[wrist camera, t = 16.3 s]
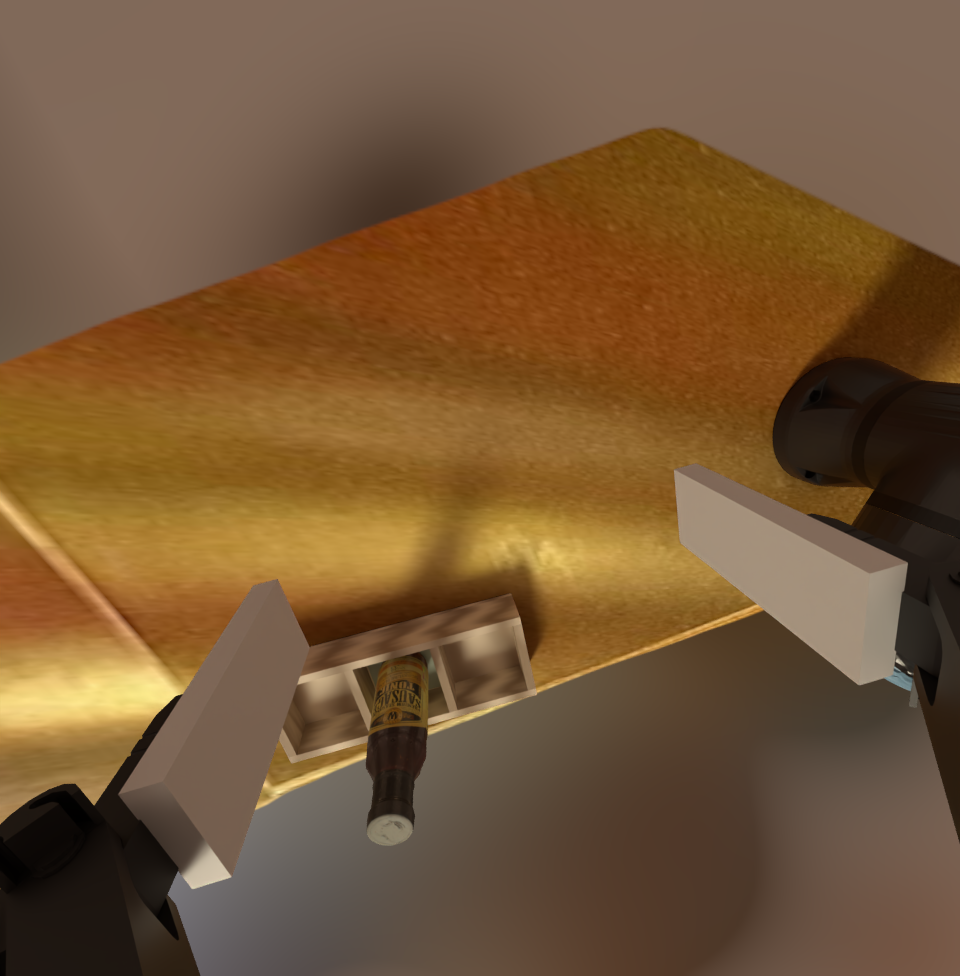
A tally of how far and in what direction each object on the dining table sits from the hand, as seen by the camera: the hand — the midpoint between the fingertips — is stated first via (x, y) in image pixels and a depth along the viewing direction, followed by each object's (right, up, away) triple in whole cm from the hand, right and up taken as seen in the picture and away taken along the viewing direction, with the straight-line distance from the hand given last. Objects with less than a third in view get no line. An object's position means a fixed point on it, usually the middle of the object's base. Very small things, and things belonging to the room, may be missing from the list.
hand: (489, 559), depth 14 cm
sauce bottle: (-10, -20, +42) cm, 48 cm away
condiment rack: (-10, -20, +43) cm, 48 cm away
